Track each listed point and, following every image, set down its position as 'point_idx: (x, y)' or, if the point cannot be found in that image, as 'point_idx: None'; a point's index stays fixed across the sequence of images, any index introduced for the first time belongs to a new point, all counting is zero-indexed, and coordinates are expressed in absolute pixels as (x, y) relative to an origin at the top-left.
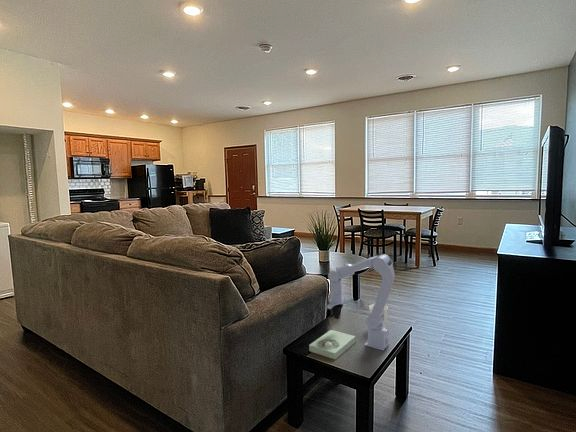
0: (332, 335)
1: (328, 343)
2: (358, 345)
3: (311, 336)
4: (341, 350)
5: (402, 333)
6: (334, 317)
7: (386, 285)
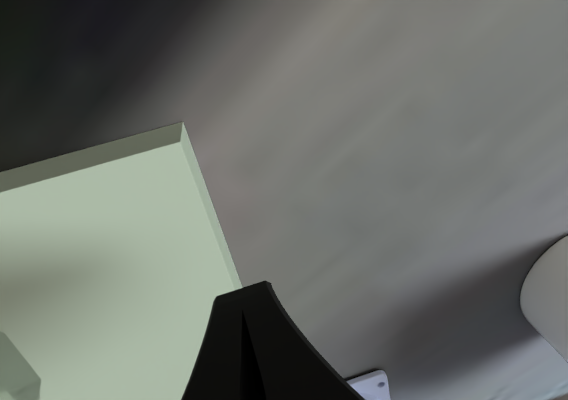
0: (82, 274)
1: None
2: None
3: None
4: None
5: (563, 391)
6: (212, 316)
7: None
